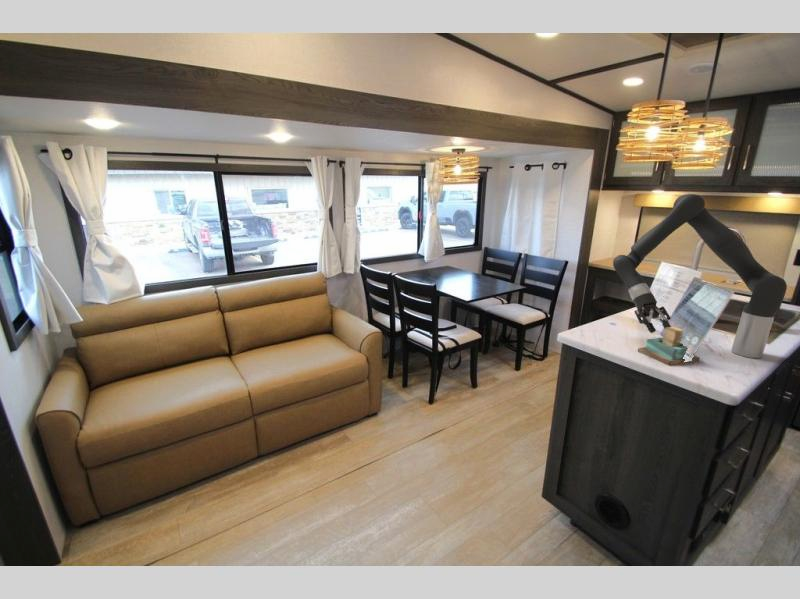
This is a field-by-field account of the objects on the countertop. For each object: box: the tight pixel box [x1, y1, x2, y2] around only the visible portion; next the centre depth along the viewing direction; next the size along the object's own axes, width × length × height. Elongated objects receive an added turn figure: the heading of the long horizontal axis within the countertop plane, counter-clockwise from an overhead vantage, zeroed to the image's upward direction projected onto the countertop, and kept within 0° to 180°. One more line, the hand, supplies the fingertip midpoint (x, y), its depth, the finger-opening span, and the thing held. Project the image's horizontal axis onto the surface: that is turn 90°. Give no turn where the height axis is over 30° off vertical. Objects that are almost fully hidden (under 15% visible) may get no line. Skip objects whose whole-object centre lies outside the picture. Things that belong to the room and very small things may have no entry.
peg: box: [662, 326, 684, 347], centre depth 144 cm, size 4×4×10 cm
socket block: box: [637, 337, 701, 366], centre depth 145 cm, size 16×13×6 cm
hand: (661, 331), depth 148 cm, fingers open, 8 cm apart
